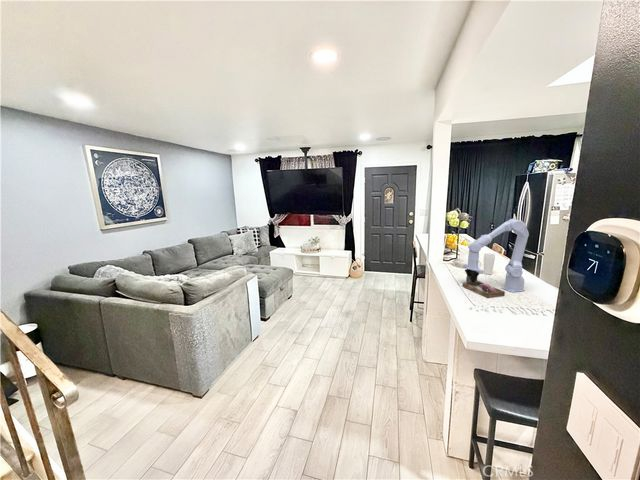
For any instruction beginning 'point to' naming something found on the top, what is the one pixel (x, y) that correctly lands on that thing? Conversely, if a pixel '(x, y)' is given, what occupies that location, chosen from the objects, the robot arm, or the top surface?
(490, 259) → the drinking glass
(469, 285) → the sliding frame
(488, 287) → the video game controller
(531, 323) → the top surface
